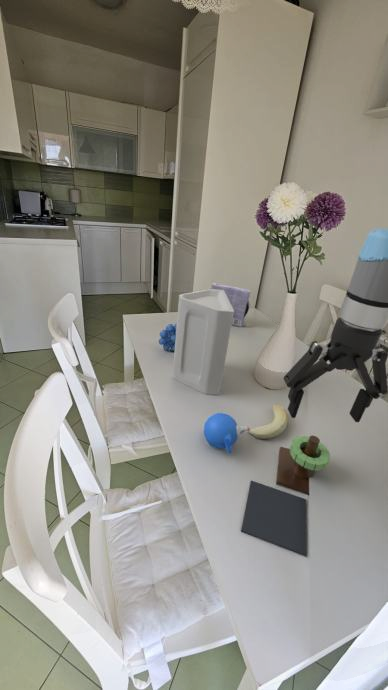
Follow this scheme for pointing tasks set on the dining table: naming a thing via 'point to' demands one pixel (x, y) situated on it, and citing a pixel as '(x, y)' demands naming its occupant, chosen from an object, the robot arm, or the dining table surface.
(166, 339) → the grapes
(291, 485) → the stand
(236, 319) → the purple towel
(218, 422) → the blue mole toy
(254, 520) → the mat
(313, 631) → the dining table surface
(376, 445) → the dining table surface
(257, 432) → the fruit
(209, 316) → the white prism box
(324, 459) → the ring
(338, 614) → the dining table surface
